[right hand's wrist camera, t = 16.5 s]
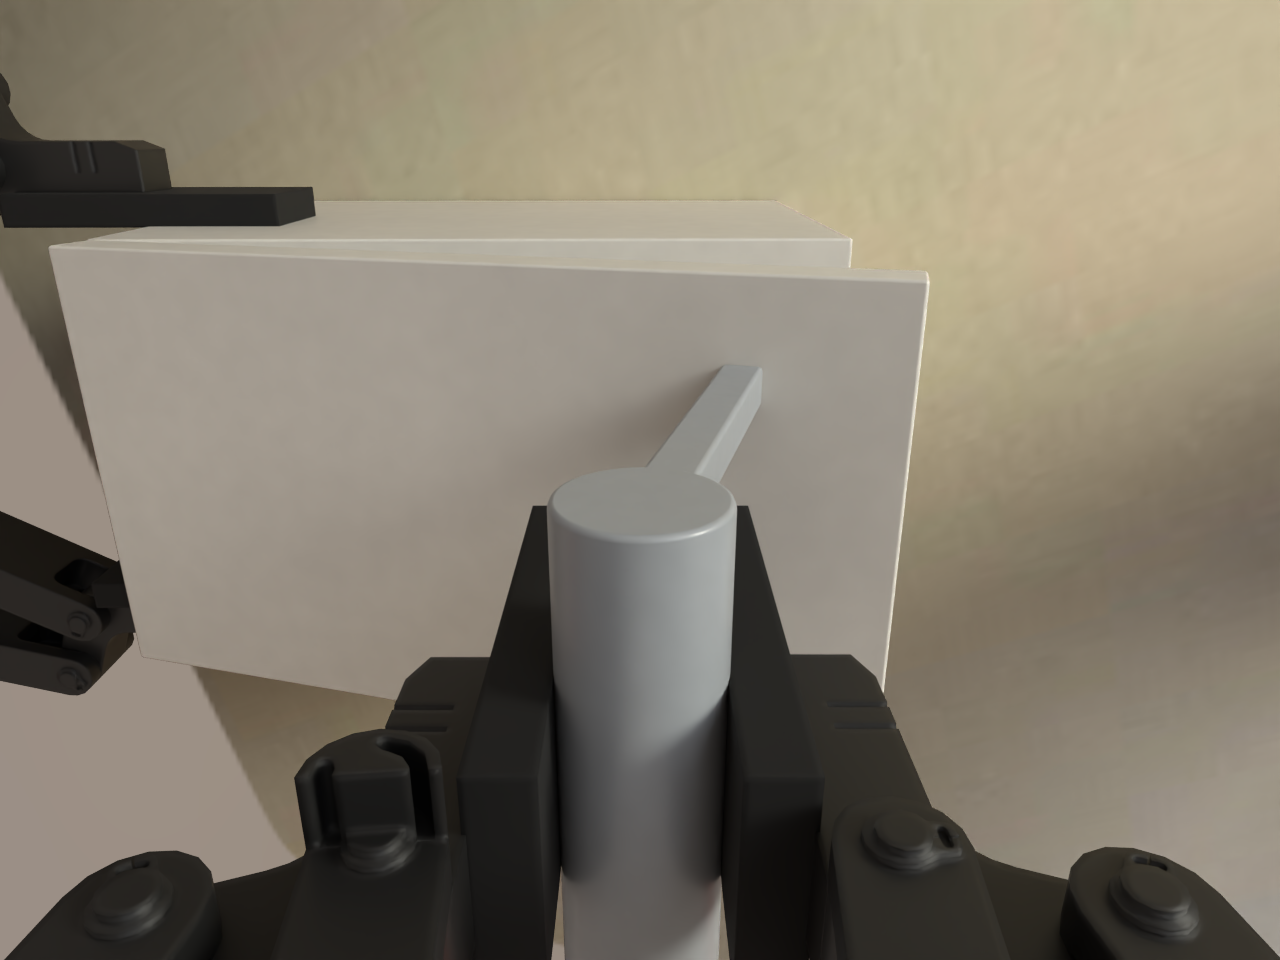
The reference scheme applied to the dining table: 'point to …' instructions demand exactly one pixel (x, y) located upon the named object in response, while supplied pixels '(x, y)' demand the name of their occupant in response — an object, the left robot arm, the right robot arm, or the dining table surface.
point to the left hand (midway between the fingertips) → (322, 403)
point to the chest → (546, 231)
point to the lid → (509, 497)
